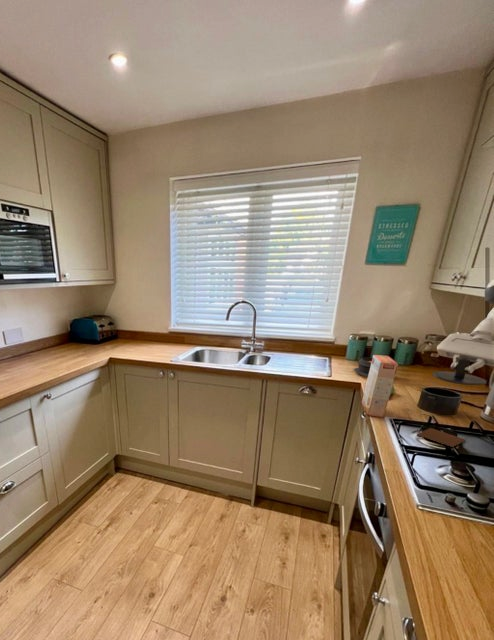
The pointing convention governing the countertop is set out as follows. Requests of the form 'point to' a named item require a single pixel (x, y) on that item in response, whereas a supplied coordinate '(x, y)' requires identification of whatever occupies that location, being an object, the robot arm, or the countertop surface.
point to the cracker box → (379, 385)
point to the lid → (460, 375)
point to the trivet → (441, 437)
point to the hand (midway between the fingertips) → (460, 369)
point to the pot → (439, 401)
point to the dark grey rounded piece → (364, 366)
